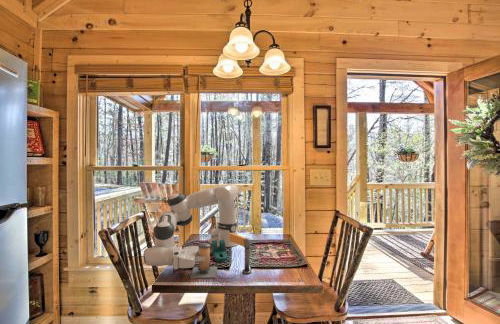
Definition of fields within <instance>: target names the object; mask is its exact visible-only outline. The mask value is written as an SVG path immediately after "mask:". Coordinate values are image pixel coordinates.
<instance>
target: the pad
mask: <svg viewBox="0 0 500 324" xmlns="http://www.w3.org/2000/svg"><path fill="white" fill-rule="evenodd" d="M198 267H199V266H194V267H192V271H191V274H190V277H189V279H192V280H193V279H195V280H196V279H216V278H217V273H218V266H210V270H209V271H199V270H198Z"/></svg>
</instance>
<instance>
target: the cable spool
mask: <svg viewBox="0 0 500 324" xmlns="http://www.w3.org/2000/svg"><path fill="white" fill-rule="evenodd" d="M197 246H198V247H199V255H198V257H201V256H206V259H205V261H199V262H198V266H197V267H198V270H199V271H209V270H210V267H211V266H210V264H211V261H210V260H211V259H210V255H211V252H210V251H211V250H210V249H211V248H212V244H211V243H209V242H203V243H202V242H200V243H198V245H197Z"/></svg>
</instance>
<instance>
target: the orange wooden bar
mask: <svg viewBox="0 0 500 324" xmlns="http://www.w3.org/2000/svg"><path fill="white" fill-rule="evenodd" d="M229 241H231V242H234V243H236V244H238V246H242V248H244V249H245V248H251V238H250V237H244V236H242V235H239V234H237V235H236V234H234V233H229Z"/></svg>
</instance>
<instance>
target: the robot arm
mask: <svg viewBox="0 0 500 324" xmlns="http://www.w3.org/2000/svg"><path fill="white" fill-rule="evenodd" d="M239 190H240V189H239V187H238V185H236V184H234V183H226V184H222V185H219V186H215V187H211V188H207V189H203V190H199V191H195V192H193V193H190V194H188V195H185V194H182V193H173V194H171V195H170V196H168V198H167V205H168V207H169V209H170V210H165V211H163V212H162V213H161V214H159V217H158V219H157V223H156V225H155V226H154V227H153V229H152V230H153V236H154V237H153V238H154V245H153V246H152V247H147V248H145V249H144V251H143V262H144V264H145V265H146V266H149V267H150V266H152V267H162V266H169V267H171V266H172V269H173V270H179V269H190V268H194V267H195V265H196V263H199V261H205V259H206V256H201V257H199V247H198V245H188V246H184V247H182V246H175V231H176V230H177V229H176V228H177V226H179V227H185V226H188V225H189V224H190V223H192V221H193V214H192V212H191V210H195V209H196V210H197V209H202V208H206V207H210V206H214V205H218V215H219V217H218V222H217V226H216V228H215V229H214V230H212V232H211V233H210V237H209V238H207V240H206V241H207V243H209V244H211V245H212V241H213V240H217V248H219V242H220V240H224V241H225V248H229V247H230V248H231V247H235V246H239V244H236V243H234V242H231V241H229V233H234V234H236V235H238V229H237V227H238V222H237V209H236V204H235V199H236V198H237V197H238V195H239V192H240V191H239Z"/></svg>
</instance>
